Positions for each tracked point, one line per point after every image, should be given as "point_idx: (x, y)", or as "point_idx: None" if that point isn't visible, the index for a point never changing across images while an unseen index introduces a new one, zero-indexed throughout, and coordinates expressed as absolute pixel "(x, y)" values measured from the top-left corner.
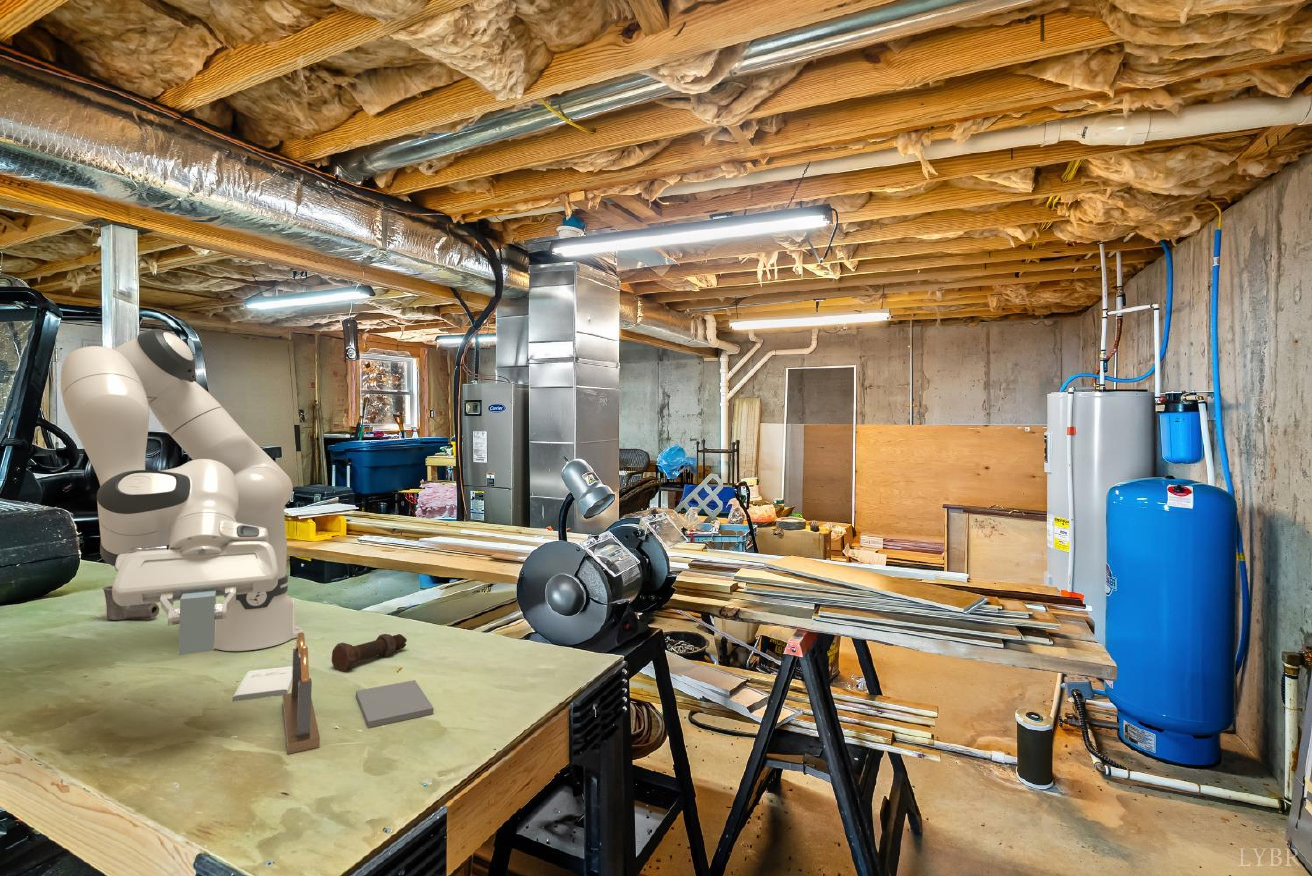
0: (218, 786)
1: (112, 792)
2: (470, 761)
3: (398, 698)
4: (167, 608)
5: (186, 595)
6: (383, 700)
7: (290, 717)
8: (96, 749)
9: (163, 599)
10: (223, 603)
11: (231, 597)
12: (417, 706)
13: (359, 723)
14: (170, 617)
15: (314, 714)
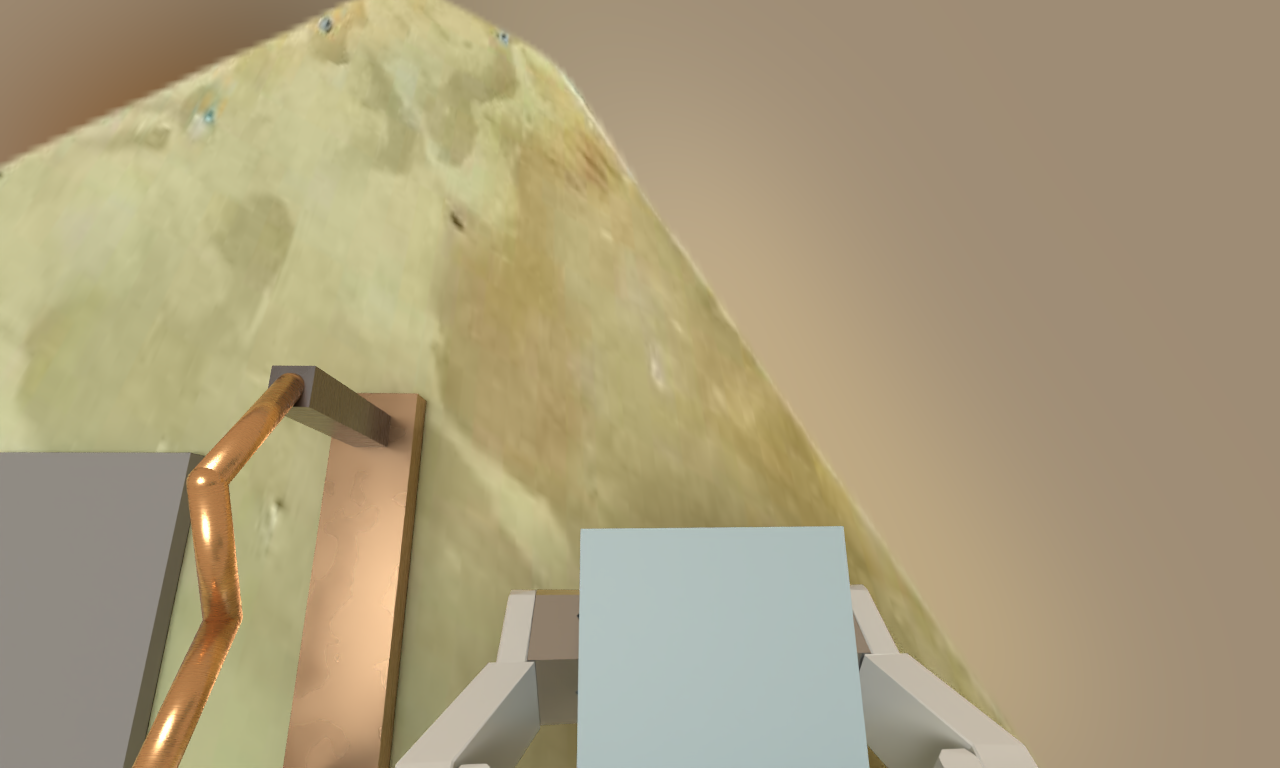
0: (576, 319)
1: (776, 407)
2: (80, 152)
3: (30, 599)
4: (912, 662)
5: (821, 682)
6: (80, 607)
7: (382, 586)
8: None
9: (998, 746)
10: (521, 662)
11: (449, 710)
12: (15, 491)
13: None
14: (852, 589)
15: (313, 573)
